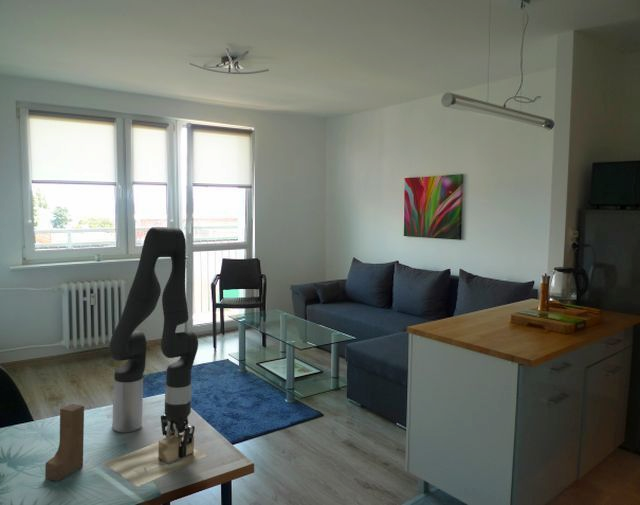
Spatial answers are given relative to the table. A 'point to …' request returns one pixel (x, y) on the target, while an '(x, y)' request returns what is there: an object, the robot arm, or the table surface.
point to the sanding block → (172, 449)
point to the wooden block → (68, 444)
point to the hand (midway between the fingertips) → (176, 453)
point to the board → (147, 464)
